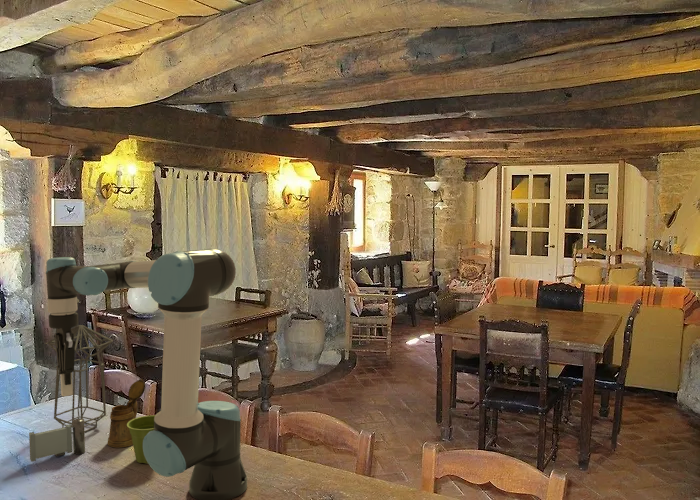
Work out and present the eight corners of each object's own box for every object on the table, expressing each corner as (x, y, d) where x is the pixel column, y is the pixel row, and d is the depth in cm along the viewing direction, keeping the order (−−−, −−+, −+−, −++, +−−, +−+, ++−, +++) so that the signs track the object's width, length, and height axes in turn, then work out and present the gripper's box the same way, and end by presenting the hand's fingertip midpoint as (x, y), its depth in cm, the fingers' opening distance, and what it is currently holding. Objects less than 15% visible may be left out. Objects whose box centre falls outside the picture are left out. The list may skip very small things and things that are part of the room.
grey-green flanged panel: (70, 450, 184) (69, 424, 183) (72, 452, 183) (71, 426, 182) (30, 459, 177) (29, 432, 176) (31, 461, 176) (30, 434, 175)
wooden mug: (154, 434, 199) (153, 380, 197) (122, 450, 187) (121, 392, 185) (133, 429, 203) (132, 376, 201) (101, 444, 191) (99, 388, 189)
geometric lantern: (83, 417, 214) (83, 318, 211) (115, 426, 207) (116, 324, 204) (42, 432, 200) (42, 326, 197) (76, 442, 193) (76, 333, 190)
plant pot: (178, 456, 182) (177, 420, 181) (145, 471, 173) (144, 432, 172) (152, 447, 189) (151, 412, 188) (119, 461, 179) (118, 423, 178)
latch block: (65, 454, 183) (64, 435, 182) (56, 456, 182) (55, 437, 181) (63, 452, 185) (62, 433, 184) (54, 454, 183) (54, 435, 183)
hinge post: (86, 452, 184) (85, 420, 184) (75, 455, 182) (74, 423, 182) (83, 449, 187) (82, 417, 186) (72, 452, 185) (71, 419, 184)
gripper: (84, 314, 169) (87, 397, 171) (71, 308, 179) (74, 387, 181) (54, 317, 164) (58, 403, 166) (43, 311, 174) (47, 392, 176)
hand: (67, 394), depth 173 cm, fingers closed
